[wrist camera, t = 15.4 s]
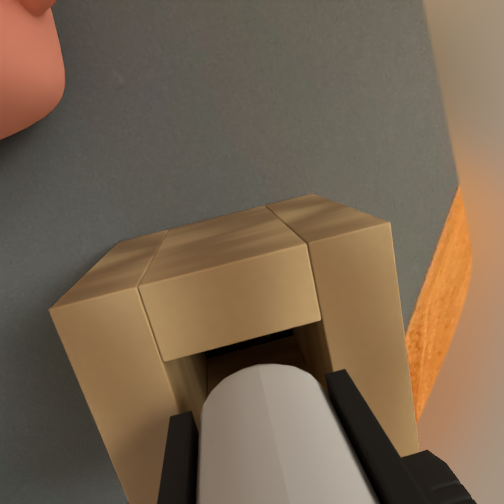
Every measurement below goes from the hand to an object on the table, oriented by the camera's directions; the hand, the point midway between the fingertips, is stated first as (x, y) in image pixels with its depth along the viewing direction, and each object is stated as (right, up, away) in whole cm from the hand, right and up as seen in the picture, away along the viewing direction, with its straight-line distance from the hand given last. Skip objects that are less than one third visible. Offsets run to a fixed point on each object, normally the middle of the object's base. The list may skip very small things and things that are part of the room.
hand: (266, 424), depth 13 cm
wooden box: (-1, +3, +11) cm, 11 cm away
